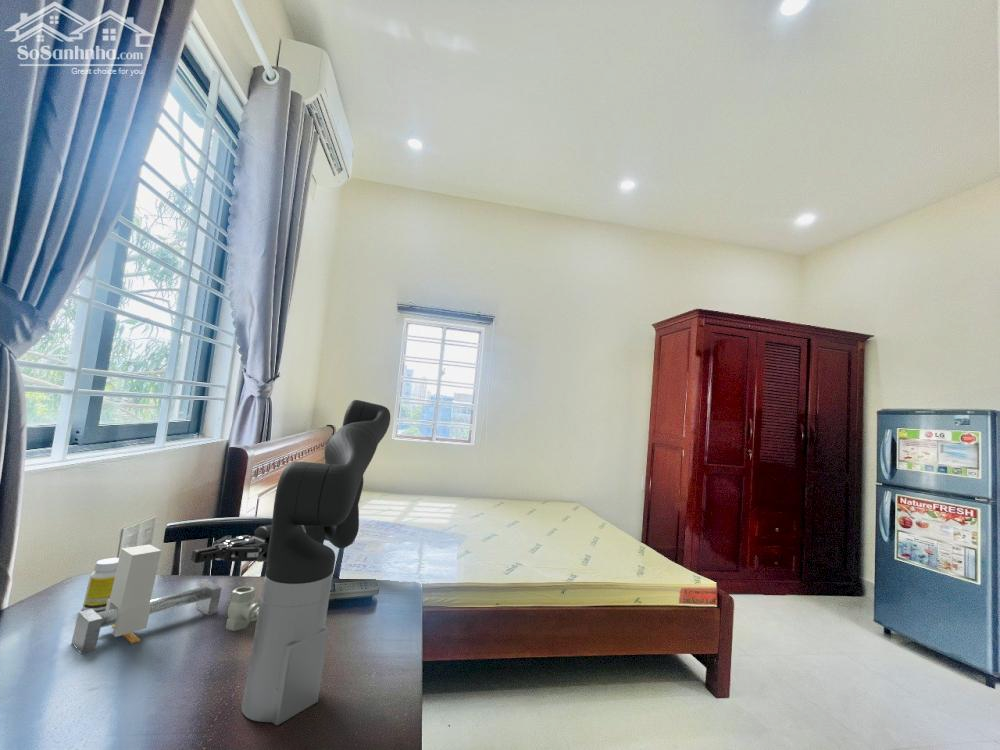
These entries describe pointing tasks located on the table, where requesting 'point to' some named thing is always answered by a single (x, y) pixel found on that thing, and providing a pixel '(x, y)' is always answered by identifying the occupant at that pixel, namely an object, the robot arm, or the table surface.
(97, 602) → the supplement bottle
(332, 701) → the table surface
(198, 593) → the rail
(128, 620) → the tall white pillar block
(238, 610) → the valve
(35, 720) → the table surface
